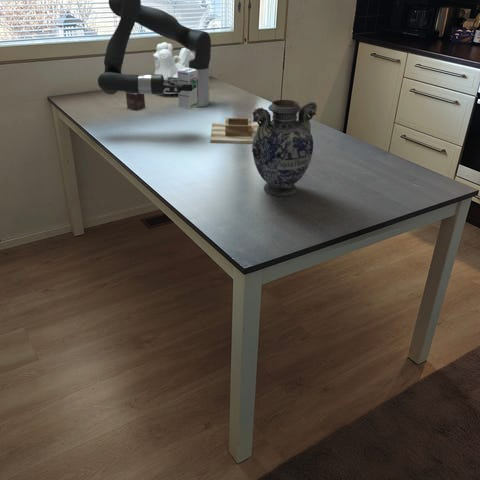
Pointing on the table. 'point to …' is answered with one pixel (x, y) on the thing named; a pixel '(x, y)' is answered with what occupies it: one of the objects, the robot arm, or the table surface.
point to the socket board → (233, 131)
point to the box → (135, 101)
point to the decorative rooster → (170, 61)
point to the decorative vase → (283, 145)
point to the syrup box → (188, 97)
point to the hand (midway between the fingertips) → (193, 85)
